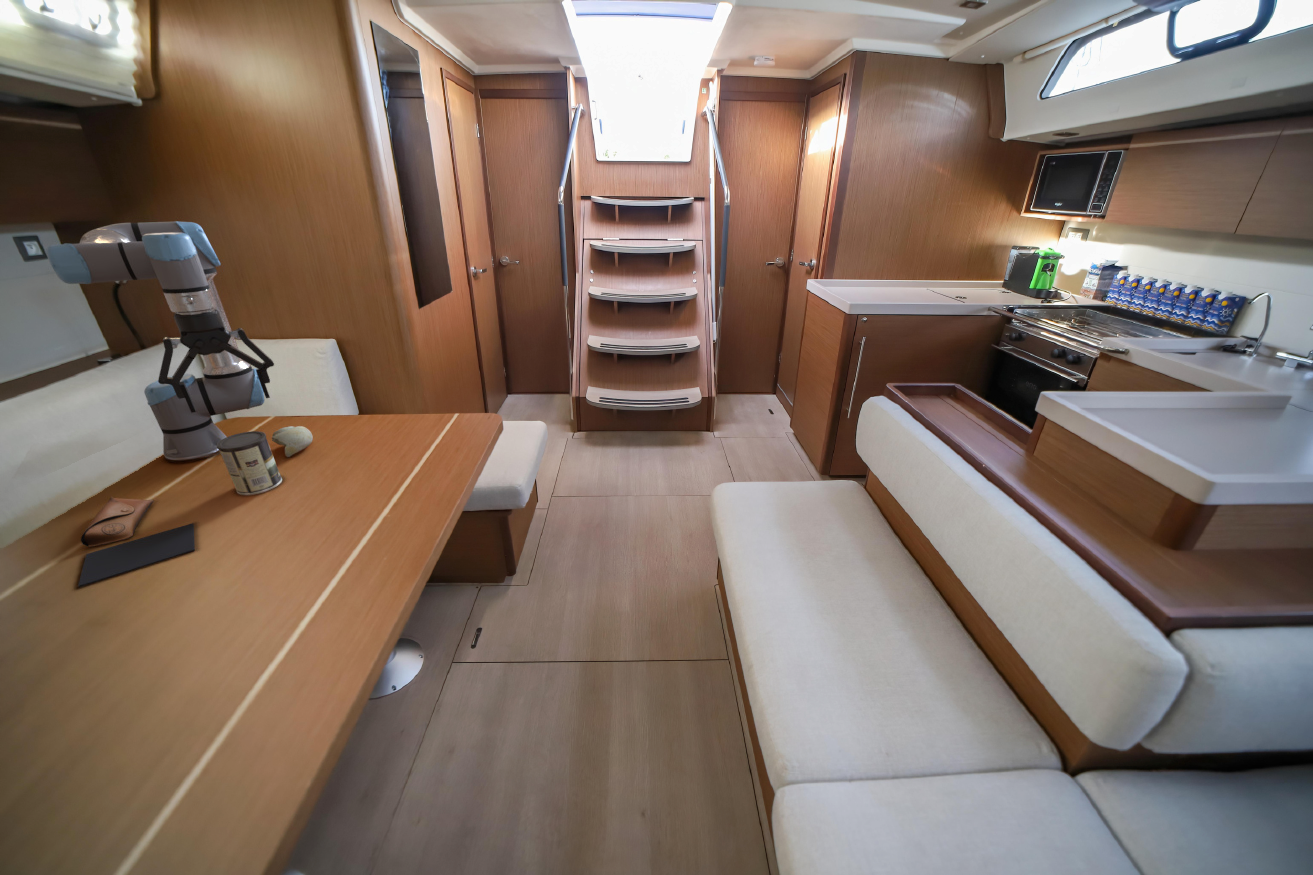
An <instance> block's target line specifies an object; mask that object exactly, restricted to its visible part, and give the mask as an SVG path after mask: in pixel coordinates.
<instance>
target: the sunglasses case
mask: <svg viewBox="0 0 1313 875" xmlns="http://www.w3.org/2000/svg"><path fill="white" fill-rule="evenodd" d="M154 502H155V501H154V499H135V498H134V499H133V498H119V497H118V498H117V497H115V498H114V497H113V496H111V497H109V499H108V501H107V502H106V503H105V505H103V507H102V508H101V509H100V510H99V511H98V513H97V514H96V515H95V516H94V518H93V519H92V520H91V522H90V523H89V524H88V526H87V527H86V529H85V530H84V532H83V533H82V534H81V536H80V542H81V544H82V545H83V546H85V547H88V548H93V547H98V546H99V547H100V546H103V545H108V544H113V543H116V542H120V541H124V540H126V539H129V538H132V537H133V536H134V534H135V532H136V528H137V526H138V525H139V523H140V522H141V521H142V519H143V517H144V516H145V515H146V513H147V512H148V510H149V508H150V507H151V506H152V504H153V503H154Z"/></svg>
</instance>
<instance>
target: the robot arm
mask: <svg viewBox="0 0 1313 875" xmlns="http://www.w3.org/2000/svg"><path fill="white" fill-rule="evenodd" d="M46 256H47V258H48V261H49V263H50V266H51V268H52V269H53V272H54V273H55V274H56V276H57V277H58V279H59V280H60V281H61V282H63V283H65V284H68V285H79V284H81V285H82V284H83V285H90V284H97V283H111V282H124V281H140V280H158V282H159V284H160V286H161V290H162V293H163V295H164V298H165V300H166V303H167V306H168V307H169V310H170V311H171V312H172V313H174V314H173V316H172V317H173V319H174V322H175V325H176V326H177V329H178V331H179V334H180V337H169V336H165V337H163V339H162V344H163V347H164V352H163V357H162V361H161V366H160V369H159V374H158V375H159V376H158V379H157V380H155V381H153V382H151V383H150V384H148V385H147V386H146V387H145V388H144V395H145V398H146V400H147V405H148V406H149V407H150V409H151V411H152V413H153V416H154V418H155V419H156V422H157V424H158V426H159V428H160V430H161V433H162V439H163V441H162V443H163V444H162V445H163V446H162V448H163V449H162V450H163V456H164V458H165V461H167V462H169V463H173V464H174V463H176V464H182V463H183V464H185V463H191V462H196V461H201V460H204V459H208V458H211V457H213V456H217V455H219V454H221V453H220V451H219V449H218V448H217V446H216V445H217V443H218V442H219V441H220V440H222V439H224V438H226V437H227V435H226V434H225V433H224V432H223V431H222V430H221V428H219V427H218V426H217V425H216V424H215V423H214V420H213V418H212V416H218V415H224V414H228V413H231V412H232V413H233V412H238V411H242V410H250V409H252V408H257V407H261V406H262V405H264V403H265V400H266V399H270V398H271V397H270V393H269V391H268V388H267V385H266V384H270V382H271V378H270V376H269V373H268V369H270V368H272V367H274V366H275V363H274V361H273V360H272V358H270V357H269V355H267V354H266V353H265V352H264V351H263V350H262V349H261V348H260V347H258V345H256V344H255V343H254V342H253V341H252V340H251V339H250V338H249V337H248V336H247V334H246V332H245V330H244V329H243V328H241V327H238V328H237V329H235V330H234V329H233V330H232V328H231V325H230V322H229V320H228V317H227V314H226V311H225V308H224V306H223V302H222V300H221V298H220V295H219V293H218V292H219V291H218V290H217V286H216V284H215V281H214V278H215V277H216V276H217V274H218V271H217V267H220V266H221V264H222V263H221V262H220V260H219V258H218V255H217V254H216V252H215V250H214V248H213V246H212V245H211V242H210V241H209V239H208V237H207V235H206V233H205V231H204V229H203V228H202V226H201V225H200V224H198V223H196V222H192V221H177V220H175V221H157V222H156V221H155V222H121V223H120V222H119V223H113V224H109V225H104V226H100V227H98V228H97V227H96V228H94V229H92V230H88V231H87V232H86V233H84V234H83V235H82V236H81V238H80V241H79V243H65V242H64V243H62V244H61V243H60V244H50V245H48V246H47V247H46ZM236 340H238V341H242V343H243V344H244V345H245V346H247V348H249V350H251V351H252V352H253V353H254V354H255V355H256V357H259V359H260V360H262V361H263V362H261V361H259V360H258V359H256V358H254V357H252V356H251V355H249V354H247V353H245V352H244V351H243V350H240V349H239V347H238V344H237V341H236ZM180 344H181V345H183V346H185V348H188V350H187V352H186V354H185V356H183V359H182V361H181V362H180V364H179V365H178V367H177V368H176V370H175V372H174V374H173V375H171V376H169V371H170V368H171V363H172V358H173V355H174V349H177V348H178V345H180ZM198 355H201V356H202V357H203V361H204V362H205V366H204V368H203V369H202V375H203V377H197V378H196V376H195V375H194V374H193V373H187V371H188V369H189V367H190V366H191V365H192V363H193V361H194V360H195V358H196V357H197V356H198Z"/></svg>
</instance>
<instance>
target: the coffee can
mask: <svg viewBox="0 0 1313 875" xmlns="http://www.w3.org/2000/svg"><path fill="white" fill-rule="evenodd" d="M216 446H217V448H218V449H219V451H220V453H219V454H220V456H221V458H222V460H223V462H224V465H225V467H226V469H227V471H228V474H229V476H230V479H231V481H232V483H233V485H234V488H235V491H236V493H237V494H238V495H241V496H254V495H259V494H263V493H266V492H268V491H271V490H273V489H275V488H276V487H277V488H278V486H279V485H280V484H282V483H283V478H282V475H281V473H280V470H279V468H278V465H277V463H276V460H275V458H274V454H273V453H272V449H271V447H270V444H269V442H268V439H267V435H266V433H265V432H264V431H257V430H255V431H254V430H252V431H244V432H238V433H235V434H232V435H229V436H226V438H224V439H222V440H220V441H219V442H218V443H217V445H216Z"/></svg>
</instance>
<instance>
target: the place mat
mask: <svg viewBox="0 0 1313 875" xmlns="http://www.w3.org/2000/svg"><path fill="white" fill-rule="evenodd" d="M194 524H195V523H194V522H192V523H189V524H184V525H182V526H178V527H174V528H171V529H168V530H164V531H161V532H157V533H154V534H151V535H147V536H143V537H140V538H137V539H134V540H133V539H132V540H130V541H127V542H122V543H119V544H116V545H113V546H110V547H105V548H102V549H99V550H96V551H92V552H88V553H86V555H85V558H84V562H83V565H82V569H81V573H80V578H79V580H78V585H77V587H78V588H83V587H85V586H89V585H92V584H95V583H97V582H101V581H105V580H107V579H110V578H114V577H116V576H120V575H123V574H126V573H130V572H132V571H135V570H139V569H142V568H144V567H148V566H152V565H154V564H158V563H160V562H164V561H167V560H170V559H174V558H177V557H179V556H183V555H186V554H189V553H192V552H195V551H196V547H195V546H196V544H195V525H194Z"/></svg>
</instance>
